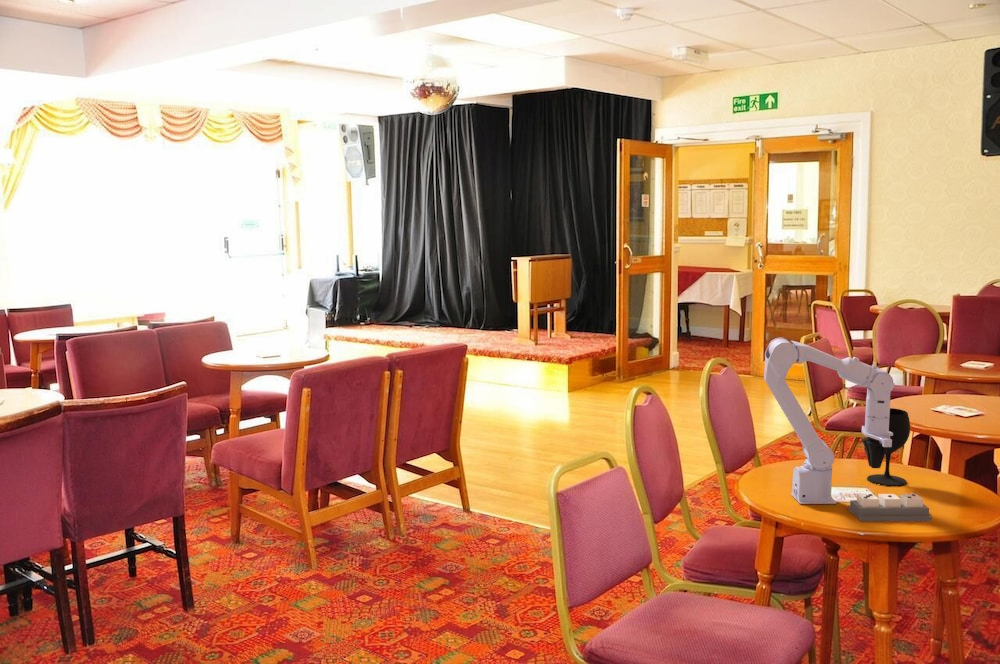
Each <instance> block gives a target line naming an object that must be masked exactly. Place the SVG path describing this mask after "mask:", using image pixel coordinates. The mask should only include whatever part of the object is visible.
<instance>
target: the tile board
mask: <svg viewBox="0 0 1000 664" xmlns="http://www.w3.org/2000/svg"><path fill="white" fill-rule="evenodd" d="M856 501H857V499H855V500H854V499H853V500H852V499H851V500H850V503H849V504H848V505H847V510H848V511H849V512H851V514H852V515H854V516H855V517H856V518H857V519H858V520H859V521H860V522H932V519H933V516H932V517H930V516H929V513H930V508H929V507H928V506H927V505H925V504H924V503H923V507H905V506H903V505H902V504H901V507H883V506H882V505H880V504H879V507H861V506H860V505H858V504H857V503H856ZM931 518H932V519H931Z"/></svg>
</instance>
